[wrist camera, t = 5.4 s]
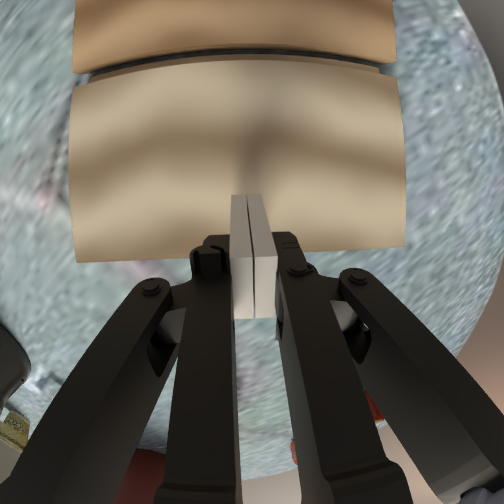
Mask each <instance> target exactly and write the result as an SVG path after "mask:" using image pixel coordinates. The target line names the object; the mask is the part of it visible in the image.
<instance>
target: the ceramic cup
mask: <svg viewBox="0 0 504 504" xmlns="http://www.w3.org/2000/svg"><path fill="white" fill-rule="evenodd" d="M29 427H30V421H29V420H27V419H26V418H25V417H24V416H22V415H21V414H19V413H18V412H15V411H13V410H11V411H10V412H9V414H8V416H7V417H6V419H5V420H4V422H3V423H2V425H1V426H0V439H1V440H2V441H3V442H5V443H6V444H8V445H9V446H11V447H12V448H14V449H16V450H18V451H19V452H21V453H22V451H23V450H24V448H25V446H26V444H27V442H28V434H29Z"/></svg>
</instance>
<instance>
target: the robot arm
mask: <svg viewBox="0 0 504 504" xmlns="http://www.w3.org/2000/svg"><path fill="white" fill-rule="evenodd" d="M189 257H190V264H191V271H192V279H191V280H190V281H188V282H186V283H183V284H180V285H176V286H171V287H170V284H169V282H168V281H167V280H165V279H162V278H149V279H145V280H143V281H141V282H139V283H138V284H137V285H136V286H135V287H134V288H133V289H132V291H131V292H130V293H129V294H128V296H127V297H126V298H125V299H124V301H123V302H122V303H121V305H120V306H119V307H118V308H117V310H116V311H115V312H114V314H113V315H112V316H111V318H110V319H109V320H108V322H107V323H106V324H105V326H104V327H103V328H102V330H101V331H100V332H99V334H98V335H97V336H96V338H95V339H94V340H93V342H92V343H91V345H90V346H89V347H88V349H87V350H86V352H85V353H84V354H83V356H82V357H81V359H80V360H79V362H78V363H77V364H76V366H75V367H74V369H73V370H72V372H71V373H70V375H69V376H68V378H67V379H66V381H65V382H64V384H63V385H62V387H61V388H60V390H59V391H58V393H57V394H56V396H55V397H54V399H53V401H52V402H51V404H50V405H49V407H48V409H47V410H46V412H45V413H44V415H43V417H42V418H41V420H40V422H39V423H38V425H37V427H36V428H35V430H34V432H33V434H32V435H31V437H30V439H29V441H28V442H27V444H26V446H25V448H24V450H23V451H22V453H21V455H20V457H19V459H18V461H17V463H16V465H15V467H14V469H13V471H12V473H11V475H10V476H9V477H8V478H7V479H6V480H5V481H4V482H2V483H1V484H0V504H113V502H114V499H115V497H116V495H117V492H118V490H119V487H120V485H121V483H122V480H123V478H124V475H125V473H126V471H127V468H128V466H129V464H130V461H131V459H132V457H133V455H134V452H135V450H136V448H137V445H138V443H139V441H140V439H141V436H142V434H143V432H144V429H145V427H146V425H147V423H148V420H149V418H150V416H151V414H152V412H153V409H154V407H155V405H156V403H157V401H158V398H159V396H160V394H161V392H162V390H163V387H164V385H165V383H166V381H167V379H168V376H169V374H170V372H171V370H172V368H173V366H174V364H175V361H176V359H177V357H178V360H177V367H176V374H175V381H174V388H173V396H172V404H171V412H170V421H169V430H168V440H167V450H166V462H165V473H164V479H163V482H162V483H161V484H160V485H159V486H158V487H157V489H156V492H155V495H154V501H153V504H243V500H242V485H241V468H240V450H239V430H238V407H237V382H236V353H235V325H234V319H251V318H253V299H254V310H255V318H270V317H275V309H276V315H277V322H276V338H275V340H278V341H279V347H280V353H281V359H282V366H283V372H284V378H285V385H286V391H287V398H288V404H289V411H290V417H291V424H292V431H293V437H294V444H295V451H296V458H297V464H298V471H299V478H300V485H301V493H302V501H301V504H413V500H412V497H411V493H410V490H409V486H408V483H407V479H406V477H405V474H404V472H403V470H402V468H401V467H400V466H399V465H398V464H397V463H395V462H392V461H390V460H389V459H388V458H387V457H386V455H385V452H384V450H383V446H382V443H381V440H380V437H379V434H378V430H377V427H376V424H375V421H374V418H373V415H372V412H371V409H370V406H369V403H368V400H367V397H366V395H365V392H364V389H363V387H364V388H365V390H366V391H367V393H368V394H369V396H370V397H371V399H372V400H373V402H374V403H375V405H376V406H377V408H378V409H379V411H380V412H381V414H382V415H383V417H384V418H385V420H386V421H387V423H388V424H389V426H390V427H391V429H392V430H393V432H394V433H395V435H396V436H397V438H398V439H399V441H400V442H401V444H402V445H403V447H404V449H405V450H406V452H407V453H408V455H409V456H410V458H411V459H412V461H413V462H414V464H415V465H416V467H417V469H418V470H419V472H420V473H421V475H422V476H423V478H424V479H425V481H426V482H427V484H428V486H429V487H430V488H431V490H432V491H433V492H434V494H435V495H436V496H437V497H438V498H439V499H440V500H441V501H442V502H443V503H444V504H504V415H503V414H502V413H501V411H500V410H499V409H498V408H497V406H496V405H495V404H494V403H493V401H492V400H491V399H490V398H489V397H488V395H487V394H486V393H485V392H484V390H483V389H482V388H481V387H480V386H479V384H478V383H477V382H476V381H475V380H474V379H473V377H471V375H470V374H469V373H468V372H467V371H466V369H465V368H464V367H463V366H462V365H461V364H460V363H459V362H458V361H457V359H456V358H455V357H454V356H453V355H452V354H451V353H450V352H449V351H448V349H447V348H446V347H445V346H444V345H443V344H442V343H441V342H440V341H439V340H438V339H437V338H436V337H435V336H434V335H433V334H432V333H431V331H430V330H429V329H428V328H427V327H426V326H425V325H424V324H423V323H422V322H421V321H420V320H419V319H418V318H417V317H416V316H415V315H414V314H413V313H412V312H411V311H410V310H409V309H408V308H407V307H406V306H405V305H404V304H403V303H402V302H401V301H400V300H399V299H398V298H397V297H396V296H395V295H394V294H393V293H391V292H390V291H389V290H388V289H387V288H386V287H385V286H384V285H383V284H382V283H381V282H380V281H379V280H378V279H377V278H376V277H375V276H373V275H372V274H371V273H369V272H368V271H366V270H363V269H360V268H348V269H345V270H343V271H342V272H341V273H340V276H339V278H332V277H326V276H322V275H319V274H318V271H317V269H316V268H315V267H314V266H313V265H311V264H310V263H308V262H307V261H306V259H305V256H304V254H303V252H302V249H301V248H300V245H299V243H298V240H297V238H296V236H295V235H294V234H292V233H291V232H290V231H282V232H271V229H270V225H269V222H268V218H267V214H266V211H265V207H264V204H263V200H262V196H261V194H247V205H246V196H245V194H242V195H231V215H230V234H222V235H209V236H208V237H207V238H206V239H205V240H204V241H203V245H201V246H198V247H196V248H194V249H193V250H191V252H190V254H189ZM364 323H365V325H366V326H367V327H368V328H369V329H368V328H367V327H366V326H365V325H364ZM30 371H31V365H30V362H29V359H28V357H27V356H26V354H25V352H24V351H23V349H22V348H21V347H20V345H19V344H18V343H17V342H16V340H15V339H14V338H13V337H12V336H11V335H10V334H9V333H8V332H7V331H6V330H5V329H4V328H3V327H2V326H1V325H0V415H1V413H2V410H3V407H4V405H5V403H6V401H7V399H8V398H9V397H10V396H11V395H12V394H13V393H14V392H15V391H16V390H17V389H18V388H19V387H20V386H21V385H22V384H24V383H25V382H26V380H27V378H28V376H29V374H30ZM362 385H363V386H362Z"/></svg>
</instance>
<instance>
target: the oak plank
mask: <svg viewBox="0 0 504 504" xmlns="http://www.w3.org/2000/svg"><path fill="white" fill-rule="evenodd" d="M228 49H276V50H293V51H305V52H315V53H324V54H331V55H338V56H344V57H350V58H356V59H361V60H366V61H371V62H375V63H380V64H387V63H395V62H396V46H395V29H394V16H393V6H392V0H76V8H75V18H74V32H73V73H81V74H87V73H90V72H94V71H97V70H100V69H104V68H108V67H112V66H116V65H120V64H124V63H128V62H133V61H138V60H143V59H148V58H153V57H159V56H166V55H172V54H180V53H188V52H198V51H210V50H228Z"/></svg>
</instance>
